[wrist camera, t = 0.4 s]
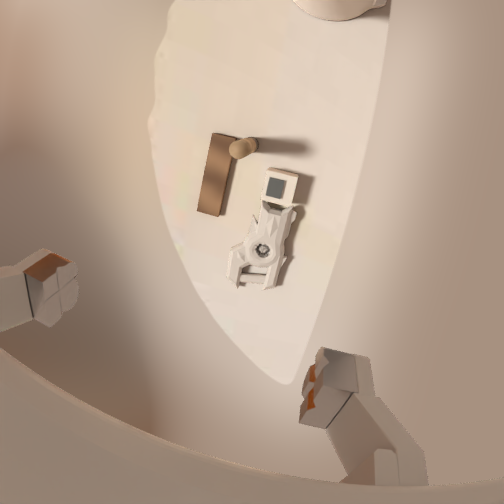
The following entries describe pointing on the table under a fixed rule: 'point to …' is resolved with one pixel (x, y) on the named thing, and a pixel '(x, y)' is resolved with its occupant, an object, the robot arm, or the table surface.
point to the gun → (262, 247)
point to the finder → (279, 187)
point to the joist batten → (215, 175)
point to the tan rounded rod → (243, 147)
